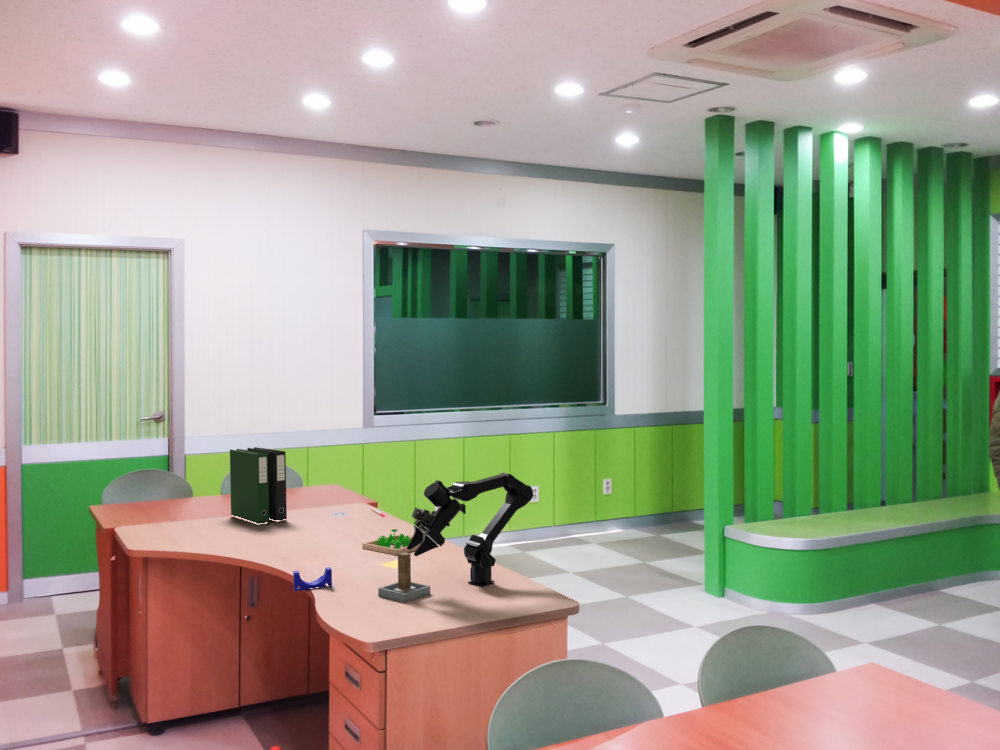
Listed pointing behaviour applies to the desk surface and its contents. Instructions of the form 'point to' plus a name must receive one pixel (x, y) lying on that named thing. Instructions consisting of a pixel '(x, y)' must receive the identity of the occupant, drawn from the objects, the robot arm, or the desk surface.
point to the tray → (403, 597)
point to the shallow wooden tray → (374, 546)
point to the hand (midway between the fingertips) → (411, 552)
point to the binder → (258, 484)
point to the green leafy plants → (391, 540)
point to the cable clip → (317, 583)
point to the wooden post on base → (404, 573)
